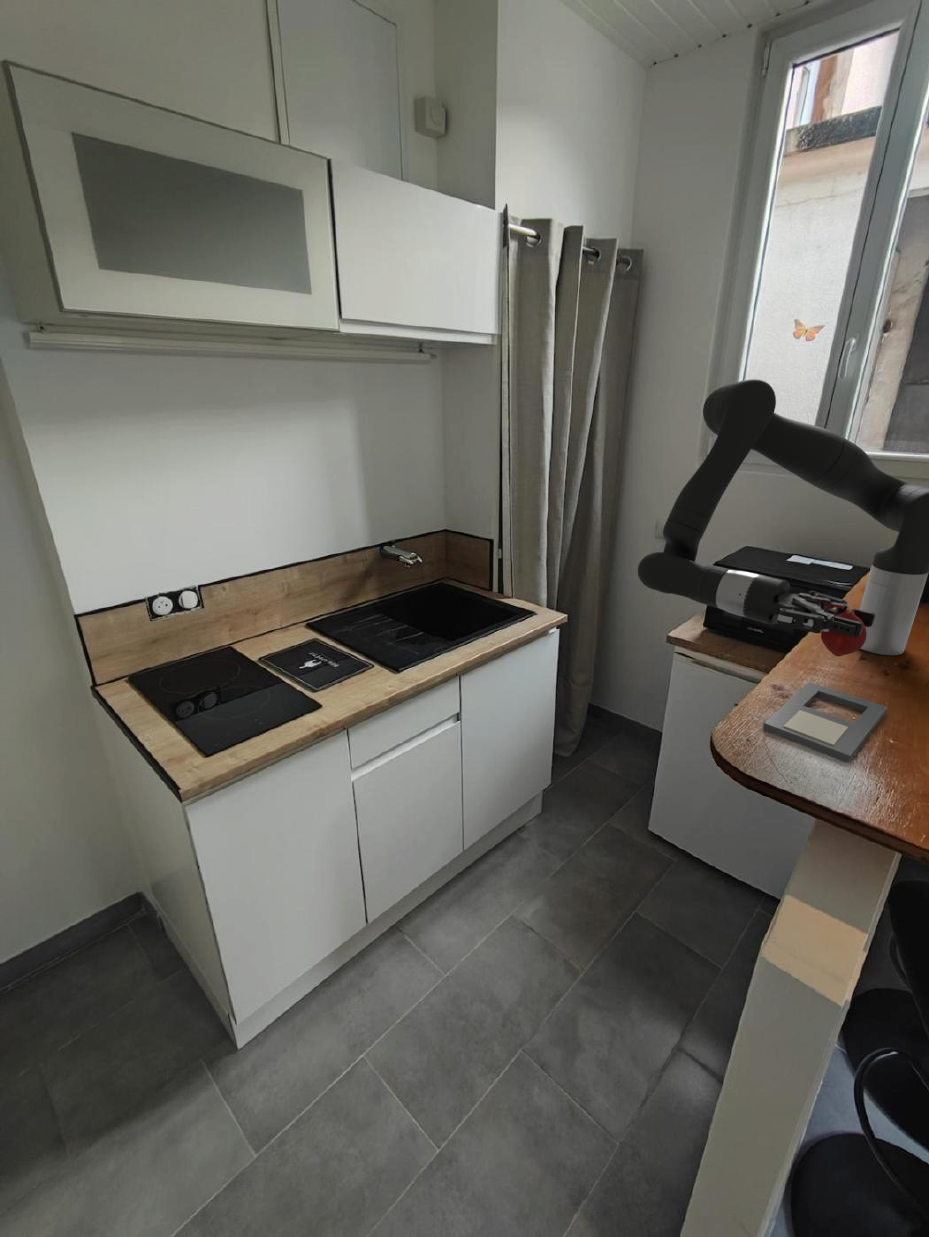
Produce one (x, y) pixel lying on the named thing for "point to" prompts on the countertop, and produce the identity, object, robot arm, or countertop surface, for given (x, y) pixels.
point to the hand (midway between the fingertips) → (867, 625)
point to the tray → (825, 722)
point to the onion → (844, 637)
